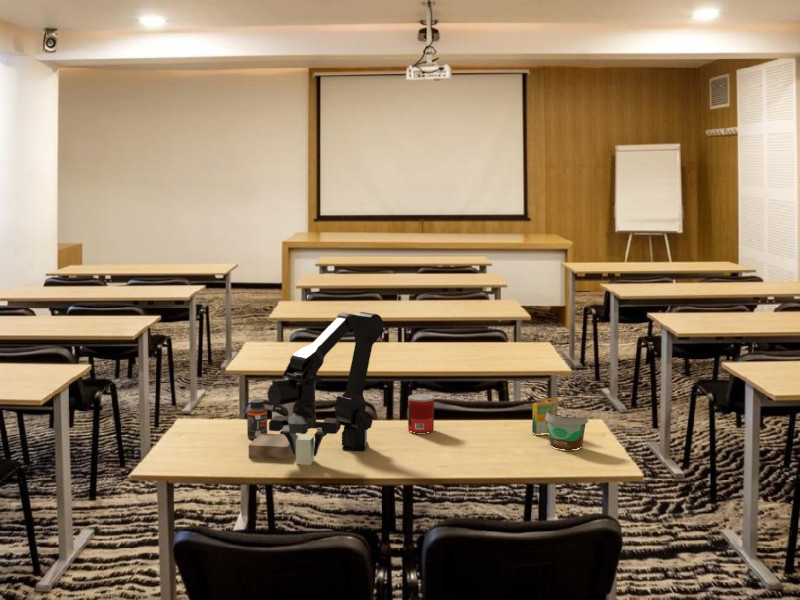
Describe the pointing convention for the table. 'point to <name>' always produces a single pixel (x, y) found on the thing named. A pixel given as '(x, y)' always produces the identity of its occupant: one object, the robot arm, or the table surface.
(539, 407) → the crayon box
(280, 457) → the walnut block
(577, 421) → the food container
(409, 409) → the canned food
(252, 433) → the supplement bottle
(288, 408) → the mug
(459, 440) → the table surface
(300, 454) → the sage block
